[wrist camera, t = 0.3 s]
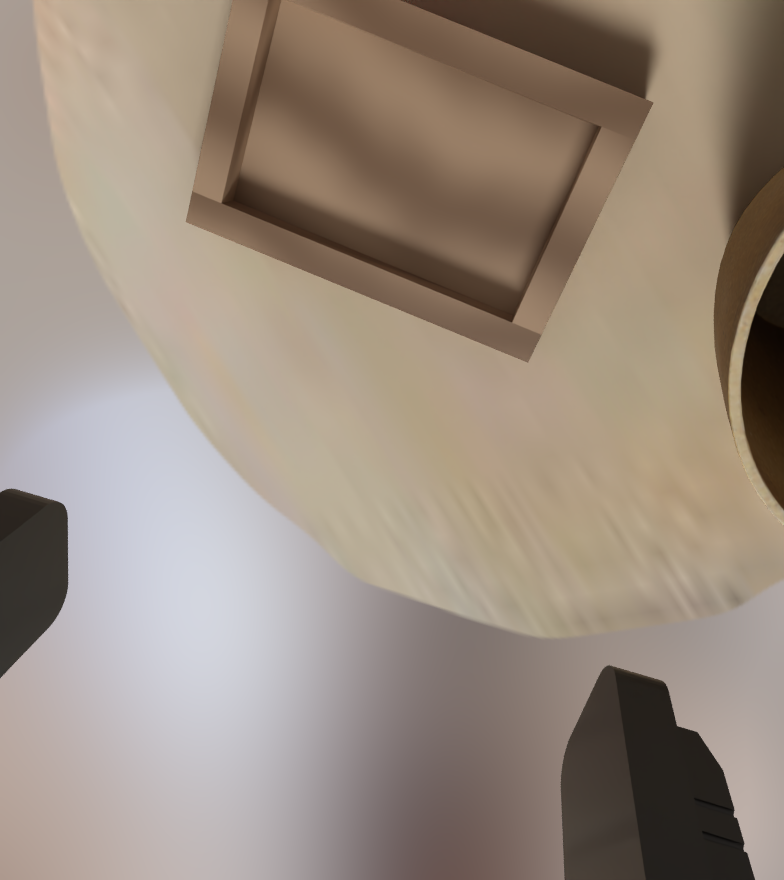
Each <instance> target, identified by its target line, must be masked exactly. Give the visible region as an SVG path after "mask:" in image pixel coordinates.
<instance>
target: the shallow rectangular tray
mask: <svg viewBox="0 0 784 880" xmlns="http://www.w3.org/2000/svg"><path fill="white" fill-rule="evenodd" d="M652 105H653V102H651V101H648V100H646V99H644V98H641V97H639V96H636V95H634V94H631V93H629V92H626V91H624V90H621V89H619V88H616V87H614V86H611V85H609V84H606V83H604V82H602V81H599V80H597V79H594V78H592V77H589V76H587V75H584V74H582V73H579V72H577V71H574V70H572V69H569V68H567V67H564V66H562V65H560V64H557V63H555V62H552V61H550V60H547V59H545V58H542V57H540V56H537V55H535V54H532V53H530V52H527V51H525V50H522V49H520V48H518V47H515V46H513V45H510V44H508V43H505V42H503V41H500V40H498V39H495V38H493V37H490V36H488V35H485V34H483V33H480V32H478V31H476V30H473V29H471V28H468V27H466V26H463V25H461V24H458V23H456V22H453V21H451V20H448V19H446V18H443V17H441V16H438V15H436V14H434V13H431V12H429V11H426V10H424V9H421V8H419V7H416V6H414V5H411V4H409V3H406V2H404V1H401V0H233V2H232V6H231V11H230V16H229V21H228V25H227V30H226V35H225V39H224V44H223V49H222V54H221V58H220V63H219V68H218V73H217V77H216V82H215V87H214V91H213V96H212V101H211V106H210V110H209V115H208V120H207V124H206V129H205V134H204V139H203V143H202V148H201V153H200V158H199V162H198V167H197V172H196V176H195V181H194V186H193V191H192V195H191V200H190V205H189V210H188V214H187V219H186V222H187V223H190V224H192V225H195V226H197V227H200V228H202V229H204V230H207V231H209V232H212V233H214V234H217V235H219V236H221V237H224V238H226V239H229V240H231V241H234V242H236V243H238V244H241V245H243V246H246V247H248V248H251V249H253V250H255V251H258V252H260V253H263V254H265V255H268V256H270V257H273V258H275V259H277V260H280V261H282V262H285V263H287V264H290V265H292V266H294V267H297V268H299V269H302V270H304V271H307V272H309V273H311V274H314V275H316V276H319V277H321V278H324V279H326V280H328V281H331V282H333V283H336V284H338V285H341V286H343V287H345V288H348V289H350V290H353V291H355V292H358V293H360V294H363V295H365V296H367V297H370V298H372V299H375V300H377V301H380V302H382V303H384V304H387V305H389V306H392V307H394V308H397V309H399V310H401V311H404V312H406V313H409V314H411V315H414V316H416V317H418V318H421V319H423V320H426V321H428V322H431V323H433V324H435V325H438V326H440V327H443V328H445V329H448V330H450V331H453V332H455V333H457V334H460V335H462V336H465V337H467V338H470V339H472V340H474V341H477V342H479V343H482V344H484V345H487V346H489V347H491V348H494V349H496V350H499V351H501V352H504V353H506V354H508V355H511V356H513V357H516V358H518V359H521V360H523V361H525V362H528V361H529V359H530V357H531V355H532V353H533V351H534V349H535V347H536V345H537V343H538V341H539V339H540V337H541V335H542V332H543V330H544V328H545V326H546V324H547V322H548V320H549V318H550V316H551V314H552V312H553V310H554V308H555V306H556V303H557V301H558V299H559V297H560V295H561V293H562V291H563V289H564V287H565V285H566V283H567V281H568V279H569V277H570V274H571V272H572V270H573V268H574V266H575V264H576V262H577V260H578V258H579V256H580V254H581V252H582V250H583V247H584V245H585V243H586V241H587V239H588V237H589V235H590V233H591V231H592V229H593V227H594V225H595V223H596V221H597V218H598V216H599V214H600V212H601V210H602V208H603V206H604V204H605V202H606V200H607V198H608V196H609V194H610V192H611V189H612V187H613V185H614V183H615V181H616V179H617V177H618V175H619V173H620V171H621V169H622V167H623V165H624V163H625V160H626V158H627V156H628V154H629V152H630V150H631V148H632V146H633V144H634V142H635V140H636V138H637V136H638V134H639V131H640V129H641V127H642V125H643V123H644V121H645V119H646V117H647V115H648V113H649V111H650V109H651V107H652Z"/></svg>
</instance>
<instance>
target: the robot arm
mask: <svg viewBox="0 0 784 880" xmlns="http://www.w3.org/2000/svg"><path fill="white" fill-rule="evenodd" d="M67 589H68V517H67V510H66V508H65V506H64V505H63V504H62V503H60V502H57V501H54V500H50V499H47V498H43V497H40V496H37V495H33V494H30V493H26V492H23V491H20V490H16V489H7V490H4V491H2V492H0V678H1V677H2V676H3V674H5V673H6V671H7V670H8V669H9V668H10V667H11V666H12V665H13V664H14V663H15V662H16V661H17V660H18V659H19V658H20V657H21V656H22V655H23V653H24V652H26V651H27V650H28V649H29V647H30V646H31V645H32V644H33V643H34V642H35V641H36V640H37V639H38V638H39V637H40V636H41V635H42V634H43V633H44V632H45V631H46V630H47V629H48V628H49V627H50V625H51V624H52V623H53V622H54V620H55V619H56V617H57V615H58V614H59V612H60V610H61V608H62V606H63V603H64V601H65V598H66V594H67ZM561 801H562V826H563V849H564V873H565V880H755V878H754V875H753V871H752V868H751V865H750V861H749V858H748V854H747V853H746V852H744V850H743V847H744V841H743V837H742V834H741V830H740V827H739V823H738V820H737V818H735V817H734V815H733V814H734V806H733V803H732V800H731V796H730V793H729V789H728V786H727V783H726V779H725V776H724V772H723V770H722V768H721V767H720V765H719V764H718V762H717V761H716V759H715V758H714V756H713V755H712V753H711V752H710V751H709V749H708V747H707V746H706V744H705V743H704V741H703V740H702V738H701V737H700V736H699V734H698V733H697V732H695V731H692V730H688V729H685V728H681V727H678V726H677V725H676V721H675V716H674V712H673V708H672V704H671V700H670V696H669V691H668V688H667V686H666V684H665V683H664V682H663V681H661V680H658V679H654V678H651V677H647V676H644V675H641V674H637V673H634V672H630V671H627V670H624V669H620V668H617V667H613V666H606V667H605V668H604V669H603V670H602V672H601V674H600V676H599V677H598V679H597V681H596V684H595V686H594V688H593V690H592V692H591V694H590V697H589V699H588V701H587V703H586V705H585V707H584V709H583V711H582V713H581V715H580V718H579V720H578V722H577V724H576V726H575V728H574V730H573V732H572V735H571V737H570V739H569V741H568V744H567V748H566V751H565V755H564V760H563V766H562V774H561Z"/></svg>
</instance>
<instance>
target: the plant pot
mask: <svg viewBox="0 0 784 880" xmlns="http://www.w3.org/2000/svg"><path fill="white" fill-rule="evenodd" d="M714 340H715V352H716V359H717V366H718V372H719V377H720V382H721V387H722V392H723V397H724V402H725V406H726V411H727V415H728V419H729V422H730V426H731V430H732V433H733V437H734V441H735V445H736V448H737V452H738V454H739V457H740V459H741V462H742V464H743V467H744V469H745V472H746V474H747V476H748V478H749V480H750V482H751V484H752V486H753V488H754V489H755V491H756V493H757V494H758V495H759V497H760V498H761V500H762V501H763V503H764V504H765V505H766V507H767V508H768V509H769V510H770V512H771V513H772V514H773V515H774V516H775V518H776V519H777V520H778V521H779V522H780V523H781V524H782V525H783V526H784V168H782V169H781V170H780V171H779V172H778V173H777V174H776V175H775V176H774V177H773V178H772V179H771V180H770V181H769V182H768V183H767V184H766V185H765V186H764V187H763V188H762V189H761V190H760V191H759V192H758V194H757V195H756V196H755V197H754V199H753V200H752V201H751V203H750V204H749V205H748V207H747V208H746V209H745V211H744V212H743V214H742V216H741V217H740V219H739V221H738V222H737V224H736V226H735V228H734V230H733V232H732V234H731V236H730V239H729V241H728V243H727V246H726V248H725V252H724V255H723V258H722V261H721V264H720V269H719V274H718V279H717V285H716V293H715V305H714Z"/></svg>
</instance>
